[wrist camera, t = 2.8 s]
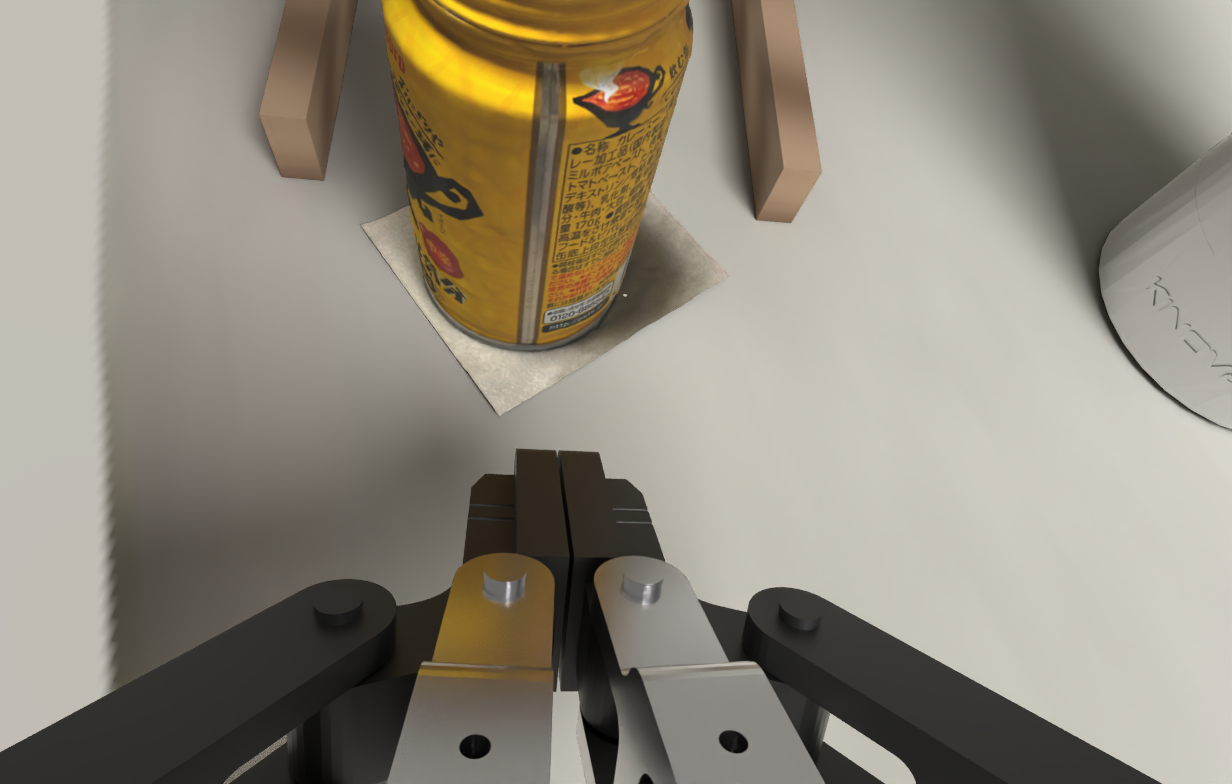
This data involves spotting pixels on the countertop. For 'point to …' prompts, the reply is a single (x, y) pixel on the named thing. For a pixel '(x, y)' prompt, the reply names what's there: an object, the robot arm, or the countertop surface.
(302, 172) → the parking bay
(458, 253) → the condiment
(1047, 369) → the countertop surface
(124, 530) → the countertop surface
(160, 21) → the countertop surface
